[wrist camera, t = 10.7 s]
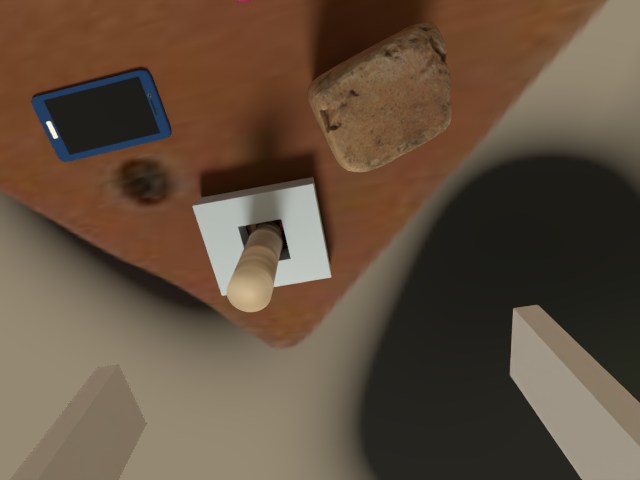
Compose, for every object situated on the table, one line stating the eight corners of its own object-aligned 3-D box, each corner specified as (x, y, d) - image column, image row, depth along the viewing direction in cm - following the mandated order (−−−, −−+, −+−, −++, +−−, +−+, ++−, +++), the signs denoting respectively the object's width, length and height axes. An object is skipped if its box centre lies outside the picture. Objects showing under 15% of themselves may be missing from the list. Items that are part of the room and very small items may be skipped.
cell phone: (32, 97, 40) (27, 98, 40) (150, 67, 39) (147, 67, 39) (64, 162, 43) (60, 163, 43) (175, 135, 42) (172, 136, 42)
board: (201, 197, 45) (192, 205, 41) (313, 176, 44) (313, 183, 41) (228, 282, 49) (222, 295, 46) (330, 264, 48) (331, 277, 45)
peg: (248, 220, 46) (220, 276, 32) (280, 214, 46) (266, 268, 32) (256, 250, 47) (232, 316, 34) (287, 244, 47) (276, 308, 33)
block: (332, 148, 43) (345, 192, 24) (302, 86, 40) (292, 81, 22) (419, 104, 41) (505, 116, 22) (394, 36, 38) (468, -14, 20)
